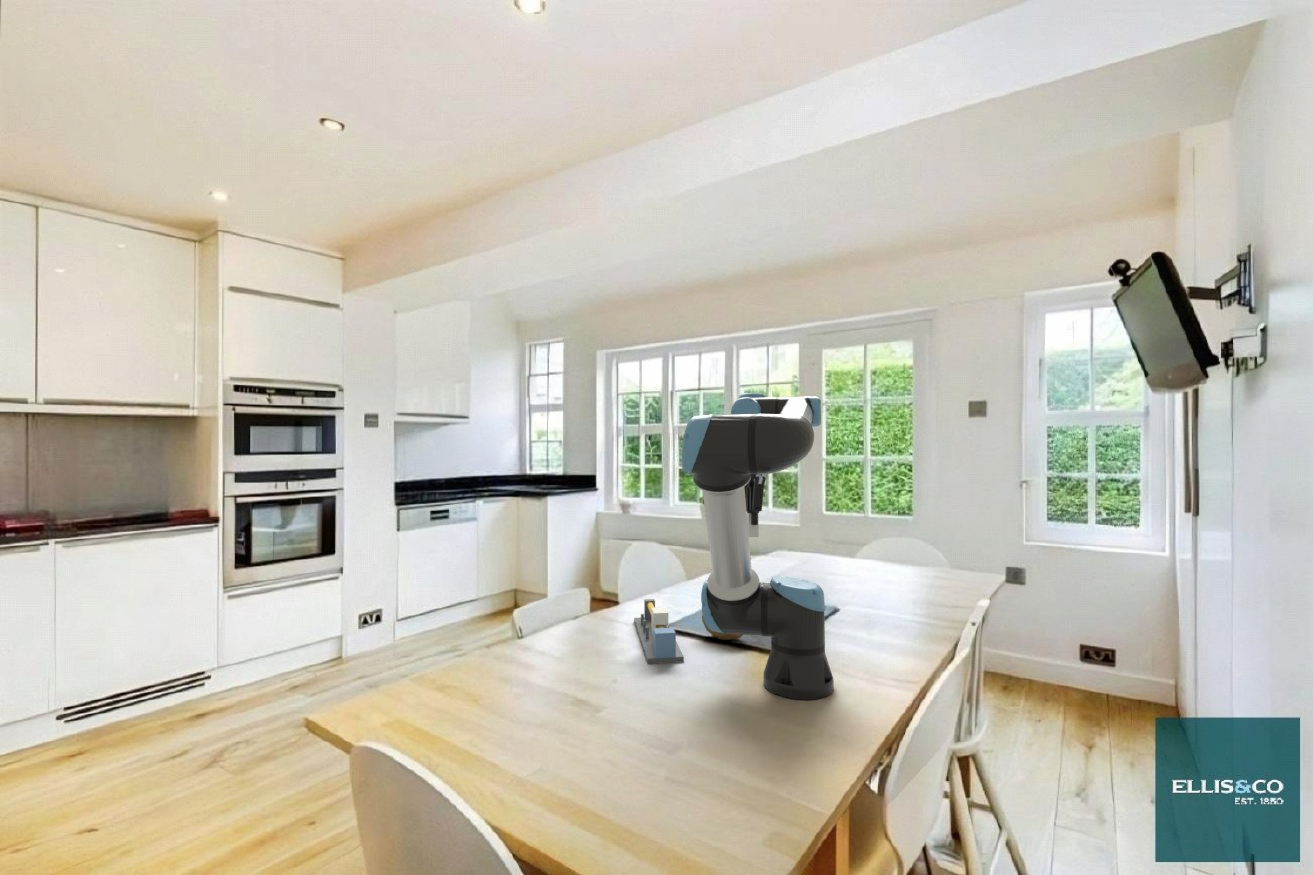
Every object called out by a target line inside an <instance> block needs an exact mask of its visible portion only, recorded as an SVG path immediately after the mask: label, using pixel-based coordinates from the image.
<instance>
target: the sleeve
mask: <svg viewBox="0 0 1313 875" xmlns="http://www.w3.org/2000/svg"><path fill="white" fill-rule="evenodd" d="M656 625H664V628H668V626H669V611H668V610H667V608H666V607H665V606H663V607H655V608H651V628H652V634H653V629H655V628H656Z"/></svg>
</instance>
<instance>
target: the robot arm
mask: <svg viewBox="0 0 1313 875" xmlns="http://www.w3.org/2000/svg"><path fill="white" fill-rule="evenodd" d="M821 424H822V400H821V398H820V397H818V396H808V395H805V396H792V397H791V396H790V397H766V395H765V393H760V392H745V393H740V394H739V395H738V399H737V400H735V401H734V402H733V404H732V405H731V409H730V414H713V413H710V414H706V415H704V414H703V415H694V416H692V417H691V418H690V419H689V421H688V422H687V424H686V426H685V430H684V433H683V434H684V435H683V439H682V445H681V447H682V448H681V469H682V472H683V473H684V474H687V475H692V476H693V477H692V478H693V483H694V485H695V486H696V487H697V488H698V489H699V490H700V491H702V499H703V505H704V512H705V521H706V528H707V538H708V546H709V554H710V560H711V561H710V562H711V570H712V572H711V573H710V574H709V575H708V577H707V579H706V580H705V581H704V582H703V584H702V587H701V591H700V592H701V594H700V601H701V613H702V614H703V618H704V621H705V624H706V625H707V627H708V628H709V629H710V630H712V631H715V632H721V633H724V634H741V635H743V636H753V637H754V636H755V637H756V636H758V637H766V638H767V637H769V638H770V641H771V642H770V645H771V647H770V652H769V655H768V658H767V660H766V664H765V667H764V670H763V686H764V687H765V688H766V689H767V691H769V692H771V693H773V694H775V695H778V696H781V697H783V698H787V699H788V698H789V699H794V700H804V701H805V700H818V699H822V698H826V697H828V696H830V695H831V694H833V692H834V689H835V688H834V680H835V679H834V676H833V672H832V670H831V667H830V663H829V660H828V658H827V654H826V633H825V632H826V630H825V629H826V625H825V622H826V621H825V612H826V608H827V607H826V604H825V593H824V590H823V588H822V587H821V586H820V585H819V584H817V583H815V582H814V581H812V580H808V579H804V578H801V577H797V576H791V575H790V576H789V575H775V576H773V577H771V579H770V581H769V582H760V578H759V575H758V573H757V572H756V571H755V570H754V569H753V568H752V562H751V550H750V549H751V548H750V538H759V533H760V532H759V528H760V527H759V514H760V512H762V511H763V500H764V491H765V490H764V488H765V482H766V476H763V475H768V474H776V473H779V472H782V471H784V470H787V469H788V468H791V467H793V466H795V465H796V464H798V463H799V462H801V461H802V460H804V459H805V458H806V457H807V456H808V455H809V453H810V452H811V451H812V448H813V445H814V441H815V432H814V428H813V427H815V428H816V427H819V426H820V425H821ZM702 614H701V615H702Z"/></svg>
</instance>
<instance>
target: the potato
mask: <svg viewBox="0 0 1313 875" xmlns="http://www.w3.org/2000/svg"><path fill="white" fill-rule="evenodd" d="M701 621H702V624H703V625H704V628H705V629H706V631H707V632H708V633H709V634H711V635H712V636H713V637H715V638H717V639H718V640H721V639H722V641H727V640H738V639H740V638H742V637H743V636H744V635H741V634H724V633H721V632H715V631H712V630H710V629H709V628H708V627H707V625H706V624H705V621H704V618H703V614H701Z"/></svg>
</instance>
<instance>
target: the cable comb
mask: <svg viewBox="0 0 1313 875" xmlns="http://www.w3.org/2000/svg"><path fill="white" fill-rule="evenodd" d="M643 604H644V605H643V608H644V610H643V612H644V613H640V617H633V620H634V621H633V623H634V625H635V628H636V631H637V635H638V637H639V641H640V644H641V648H642V651H643V654H644V656H645V659H646V660H645V661H646V663H647V664H663V663H664V664H665V663H666V664H667V663H679V662H680V663H681V662H685V657H684V654H683V652H682V650H681V648H680V646H679V645H678V642H677V638H676V637H677V635H676V634H677V633H676V630H675V629H674V627H670V625H668V628H664V625H656V628H655V629H653V634H652V628H651V608H656V600H655V598H652V599H651V598H649V599H646V598H645V599H644V600H643Z"/></svg>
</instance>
